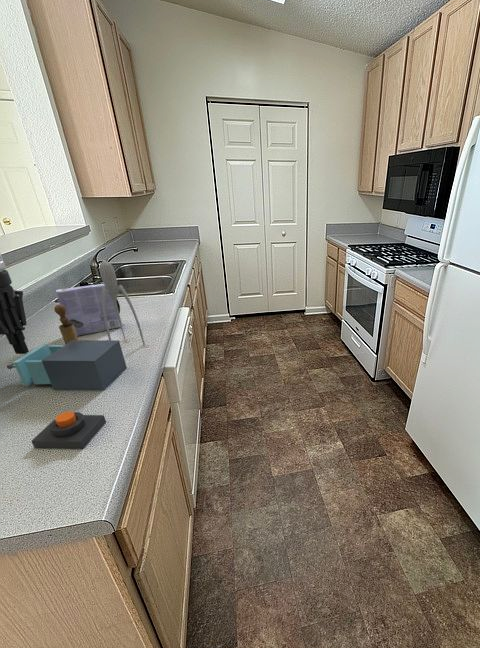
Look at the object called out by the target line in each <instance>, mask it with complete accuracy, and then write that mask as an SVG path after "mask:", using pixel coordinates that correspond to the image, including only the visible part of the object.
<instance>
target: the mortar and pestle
mask: <svg viewBox="0 0 480 648" xmlns="http://www.w3.org/2000/svg"><path fill="white" fill-rule="evenodd" d="M53 310H54V311H53V312H54V313H56V314H57V315H58V316H59V322H60V323H61V324H60V325H59V326H58V328H59V331H60V334H61V336H62V340H63V342H64V345H66V344H67V343H69V342H70V341H72V340H79V336H77V334H76V331H75V328H74V325H73V323H68V317H66V316H65V312H66V308H65V306H63V305H60V304H56V305H55V306H54V308H53Z"/></svg>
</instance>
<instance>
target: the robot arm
mask: <svg viewBox="0 0 480 648" xmlns="http://www.w3.org/2000/svg"><path fill="white" fill-rule="evenodd" d="M12 283H13V280H12V278H11V275H10V274H9V271H8V270H7V269H6V264H5V261H4V258H3V256H2V254H1V253H0V335H3V336H5V337H6V338H7V341H8V343H9V345H11V346H12V348H13V351H14V353H15V354H16V355H25V354H28V353H29V352H30V350H29V349H28V345H27V343H26V341H25V340H26V337H25V334H24V331H25V330H26V327H25V326H27V317H26V313H25V306H24V300H23V298H24V297H23V296H24V292H23V290H16V289H14V286H12V285H11V284H12Z"/></svg>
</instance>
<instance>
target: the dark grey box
mask: <svg viewBox="0 0 480 648" xmlns="http://www.w3.org/2000/svg"><path fill="white" fill-rule="evenodd" d="M42 363H43V365H44V368H45V370H46V373H47V375H48V377H49V380H50V382H51V384H50V385H51V387H52V390H53V391H83V392H84V391H86V392H87V391H89V392H90V391H95V392H98V391H100V392H101V391H102V392H104V391H106V390H107V388H109V387H110V386H111V385H112V384H113V383H114V381H116V379H118V378H119V376H120V375H122V374H123V373H124V371H126V369H128V367H127V363H126V360H125V356H124V353H123V350H122V346H121V342H120V340H119V339H118V340H116V339H115V340H112V339H111V340H109V339H107V340H104V339H103V340H95V339H93V340H92V339H91V340H90V339H84V340H83V339H78V340H72V341H70V342H69V343H67V344H66V345H65V344H64V346H63V347H61V348H60V349H58V350H57V351H55V352H54V353H52V354H51V355H49V356H48V357H46V358H45V359H43V360H42Z"/></svg>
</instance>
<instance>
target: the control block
mask: <svg viewBox="0 0 480 648" xmlns="http://www.w3.org/2000/svg"><path fill="white" fill-rule="evenodd" d="M72 412H73V413H74V414H75V417H76V422H75V423H73V424H71V425H69V426H66V427H58V425H57V423H56V421H55V419H56V417H55V418H54V419H53V420H52V421H51V422H50V423H49V424H48V425H47V426H46V427H44V428H43V429H42V431H40V432H39V433H38V434H37V435H36V436H35V437H34V438H32V439H31V441H30V442H31V444H32V446H33V448H34V449H51V450H84V449H85V448H86V447H87V446H88V445H89V443H90V442H91V441H92V440H93V439H94V438H95V436H97V434H98V433H99V432H100V430H101V429H102V428H103V427H104V426H105V425H106V423H107V419H106V417H105V415H104V414H83V413H81V412H79V411H78V412H77V411H72Z"/></svg>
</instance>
